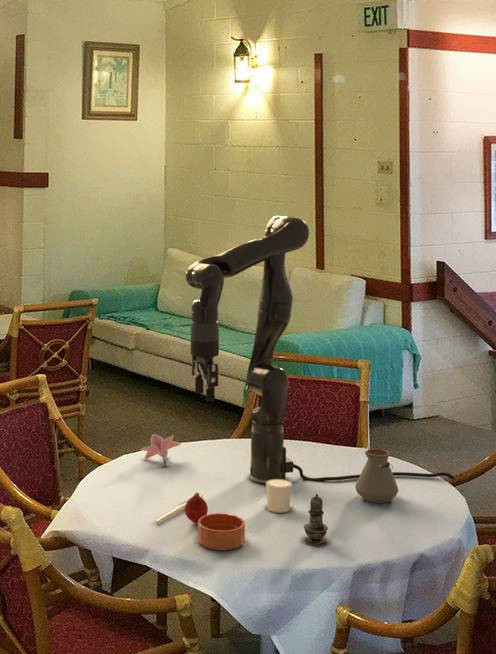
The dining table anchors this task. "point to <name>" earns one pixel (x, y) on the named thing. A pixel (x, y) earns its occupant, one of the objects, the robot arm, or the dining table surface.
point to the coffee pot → (377, 478)
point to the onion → (196, 508)
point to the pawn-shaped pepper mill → (315, 524)
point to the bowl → (221, 531)
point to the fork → (172, 512)
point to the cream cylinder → (278, 495)
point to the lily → (159, 446)
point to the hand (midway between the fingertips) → (204, 397)
